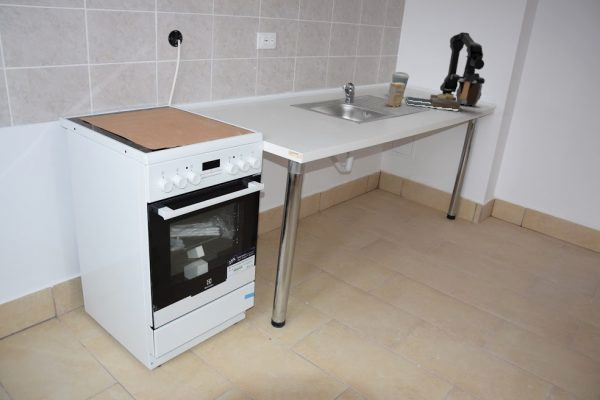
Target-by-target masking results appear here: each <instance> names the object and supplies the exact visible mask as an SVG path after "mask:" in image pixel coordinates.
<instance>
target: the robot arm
mask: <svg viewBox="0 0 600 400" xmlns="http://www.w3.org/2000/svg"><path fill="white" fill-rule="evenodd" d="M464 46H465V47H466V50H465V51H466V52H467V55H466V56H465V57H466V62H465V66H464V71H463V74H462V76H461V75H459V74H457V72H458V66H459V65H458V64H459V57H460V53H461V51H462V50H463V48H464ZM449 47H450V50H451V54H450V61H449V67H448V72H447V75H446V77H444V80H443V82H442V83H441V85H440V87H439V88H440V89H439V90H440V91H442V92H441V94H445V95H446V93H449V94H453V93H455V92H457V89H458V87H459V85H458V83H459V84H460V91H461V93H462V90H463V84H464V82H463V80H466V81H470V85H469V90H468V92H469V91H470V89H471V88H472V86H473V85H474V84H476V82H478V83H481V84H482V85H484V84H485V82H486V79H485V78H484V77H481V76H480V73H478V72H477V73H476V70H478V71H479V70H482V69H483V68H484V66H485V61H484V60H483V57H484V53H483V48H482V47H483V46H482V45H481V44H480V43H477V42H475V41H474V39H473V38H472V37H471V36H470V33H468V32H464V31H463V32H459V33H458V34H454V35H453V36H452V37H450V40H449ZM479 76H480V77H479Z"/></svg>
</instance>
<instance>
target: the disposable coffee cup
mask: <svg viewBox="0 0 600 400" xmlns="http://www.w3.org/2000/svg"><path fill="white" fill-rule="evenodd" d="M391 78H392V79H391V80H392V82H391V83H403V84H405V88H404V92H405V91H406V88H407V84H408V81H409V78H410V76H409V74H408V73H406V72H404V71H403V72H402V71H394V72H393V73H392V75H391Z"/></svg>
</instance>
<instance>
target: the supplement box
mask: <svg viewBox="0 0 600 400" xmlns="http://www.w3.org/2000/svg"><path fill="white" fill-rule="evenodd" d="M404 88H405V84H403V83H392V82H390V83H389V89H388V95H387V99H386V106H389V107H391V106H392V107H391V108H393V106H396V107H398V106H397V105H401V106H402V103H403V98H404V94H405V91H404ZM405 89H406V88H405Z"/></svg>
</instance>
